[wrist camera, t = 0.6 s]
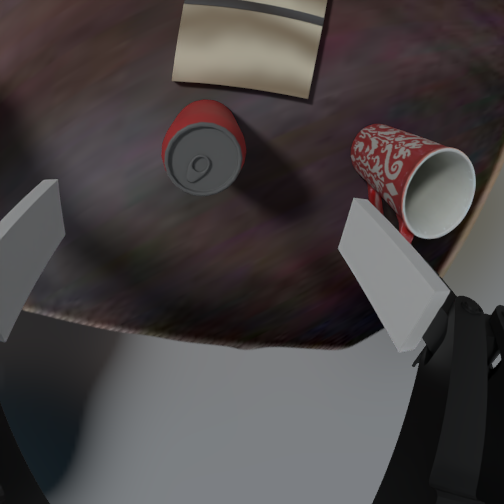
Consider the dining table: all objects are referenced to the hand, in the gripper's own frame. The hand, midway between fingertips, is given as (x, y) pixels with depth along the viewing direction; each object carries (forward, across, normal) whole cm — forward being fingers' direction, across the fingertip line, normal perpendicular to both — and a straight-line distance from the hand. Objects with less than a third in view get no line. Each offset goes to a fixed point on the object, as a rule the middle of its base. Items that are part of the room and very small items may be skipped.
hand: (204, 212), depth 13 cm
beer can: (+22, 0, -1) cm, 22 cm away
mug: (+22, +20, -2) cm, 30 cm away
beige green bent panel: (+22, +3, +17) cm, 28 cm away
